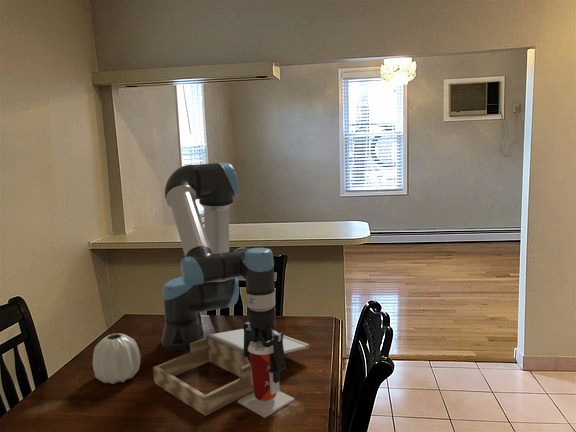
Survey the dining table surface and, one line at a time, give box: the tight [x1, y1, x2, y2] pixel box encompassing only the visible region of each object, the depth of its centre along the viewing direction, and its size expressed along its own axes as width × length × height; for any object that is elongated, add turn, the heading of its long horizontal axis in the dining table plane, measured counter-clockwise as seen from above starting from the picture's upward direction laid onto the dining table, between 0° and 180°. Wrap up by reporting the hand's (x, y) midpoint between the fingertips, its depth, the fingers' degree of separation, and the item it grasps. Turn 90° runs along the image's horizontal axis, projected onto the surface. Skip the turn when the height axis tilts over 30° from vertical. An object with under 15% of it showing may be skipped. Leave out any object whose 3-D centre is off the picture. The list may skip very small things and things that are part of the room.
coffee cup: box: [248, 340, 276, 401], centre depth 126 cm, size 8×8×15 cm
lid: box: [206, 328, 310, 354], centre depth 151 cm, size 26×22×5 cm
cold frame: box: [152, 336, 254, 417], centre depth 137 cm, size 26×20×8 cm
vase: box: [92, 332, 142, 385], centre depth 143 cm, size 14×14×13 cm
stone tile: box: [237, 390, 295, 419], centre depth 127 cm, size 11×11×1 cm
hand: (265, 387), depth 127 cm, fingers closed on coffee cup, 7 cm apart
